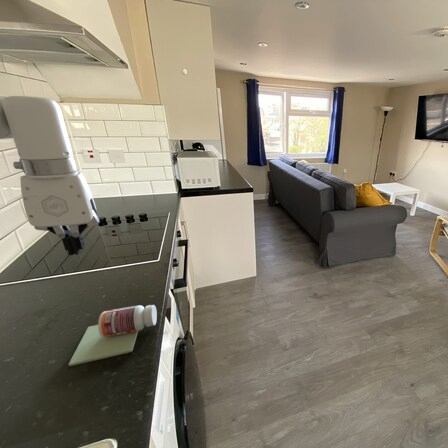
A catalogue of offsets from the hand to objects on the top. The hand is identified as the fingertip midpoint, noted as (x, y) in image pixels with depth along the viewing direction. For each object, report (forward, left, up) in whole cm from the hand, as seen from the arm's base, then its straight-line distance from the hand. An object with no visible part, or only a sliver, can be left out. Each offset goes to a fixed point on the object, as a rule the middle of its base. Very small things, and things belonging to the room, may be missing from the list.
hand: (76, 252), depth 57 cm
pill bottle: (+1, -1, -20) cm, 20 cm away
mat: (+2, -2, -23) cm, 23 cm away
